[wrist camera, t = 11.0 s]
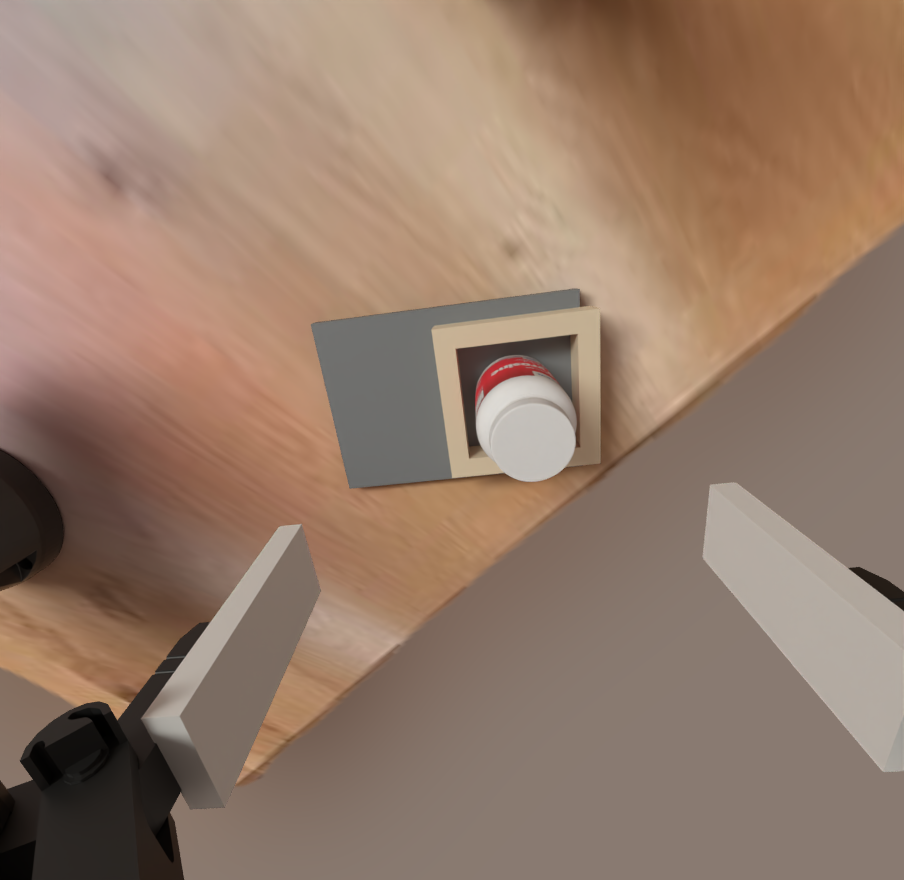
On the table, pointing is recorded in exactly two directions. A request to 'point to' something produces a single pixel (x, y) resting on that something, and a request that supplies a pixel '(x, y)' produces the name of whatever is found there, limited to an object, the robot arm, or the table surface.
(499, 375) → the pill bottle
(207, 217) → the table surface
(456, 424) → the socket board
